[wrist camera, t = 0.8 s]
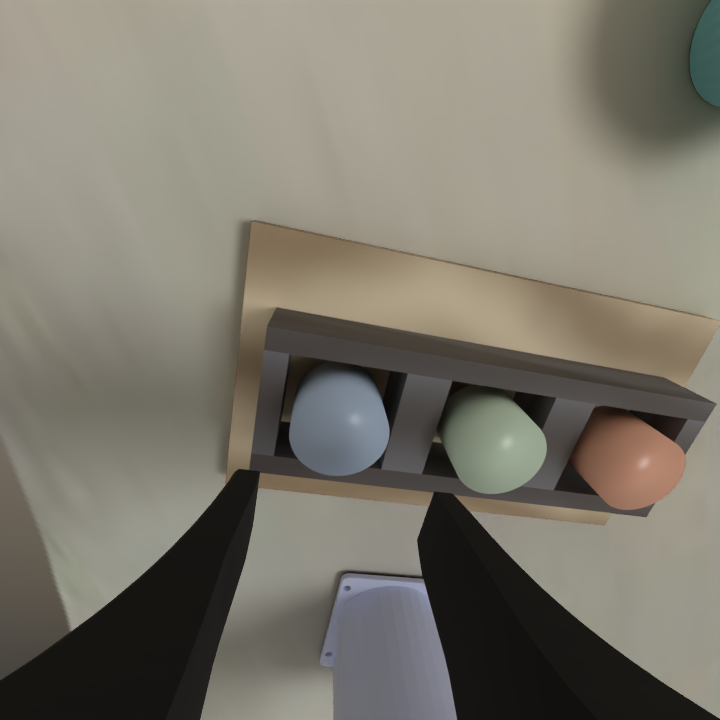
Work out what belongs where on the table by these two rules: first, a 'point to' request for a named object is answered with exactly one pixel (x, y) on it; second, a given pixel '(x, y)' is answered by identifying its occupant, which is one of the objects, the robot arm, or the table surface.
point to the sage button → (490, 440)
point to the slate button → (338, 420)
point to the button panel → (450, 366)
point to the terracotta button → (626, 459)
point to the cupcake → (707, 55)
